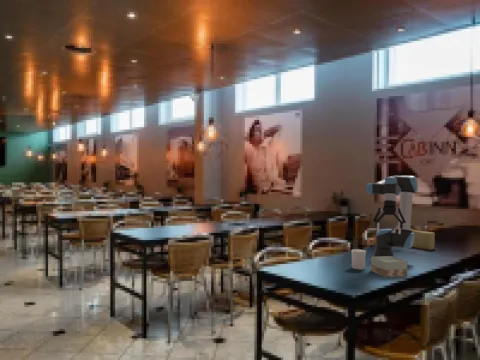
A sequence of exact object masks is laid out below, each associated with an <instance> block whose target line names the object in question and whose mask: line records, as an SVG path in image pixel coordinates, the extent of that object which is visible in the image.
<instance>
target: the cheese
mask: <svg viewBox="0 0 480 360" xmlns="http://www.w3.org/2000/svg"><path fill="white" fill-rule="evenodd" d="M412 233H414V235H415V236H414V242H413V245H412V247H413V248H417V249H423V250H427V249H428V251H431V250H435V242H436V241H435V238H436V237H435V235H436V234H435V232H433V231H422V230H415V229H412ZM412 247H411V248H412Z"/></svg>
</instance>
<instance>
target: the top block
mask: <svg viewBox="0 0 480 360" xmlns="http://www.w3.org/2000/svg"><path fill="white" fill-rule="evenodd" d="M371 265H374V266H376V267H379V268H382V269H384V270H395V269H407V270H408V260H405V259H402V258H398V257H396V256H394V257H393V256H381V257H373V256H371V257H370V266H371Z"/></svg>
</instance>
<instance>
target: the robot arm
mask: <svg viewBox="0 0 480 360" xmlns="http://www.w3.org/2000/svg"><path fill="white" fill-rule="evenodd" d="M418 190H419V185H418V179H417V177H416V176H414V175H391V176H387V177H384V178H382V179H381V180H379V181H377V182H373V183H372V182H371V183H370V182H369V183H367V184H366V186H365V192H366V193H367V194H368V195H383V200H384V201H383V208H382V207H378V209H377V212H376V214H375V216H374V218H373V219H372V221H373V222H374V223H375V228H376V231H375V232H376V235H375V249H374V252H373V256H372V257H381V256H393V257H395V256H394V253H393V252H394V251H393V247H395V248H400V249H411V248H412V245H413V242H414V236H415V235H414V233H412V230H413V229H412V228H411V223H412V210H413V198H414V196H415V195H416V192H418ZM398 196H399V207H398V208H397V202H396V201H397V197H398ZM381 212H382V213H381ZM396 212H398V215H397V214H396ZM385 216H394V217H395V219H396V220H397V221H398V222H397V227H396V228H395V231H394V230H393V228H382V229H381V228H380V223H379V222H380V221H381V220H382V219H383V218H384V217H385Z"/></svg>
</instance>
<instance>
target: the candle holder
mask: <svg viewBox="0 0 480 360" xmlns="http://www.w3.org/2000/svg"><path fill="white" fill-rule="evenodd" d="M350 253H351V268H352V269H355V270H365V266H366V258H367V257H366V254H367V250H364V249H359V248H357V249H356V248H355V249H351V251H350Z"/></svg>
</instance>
